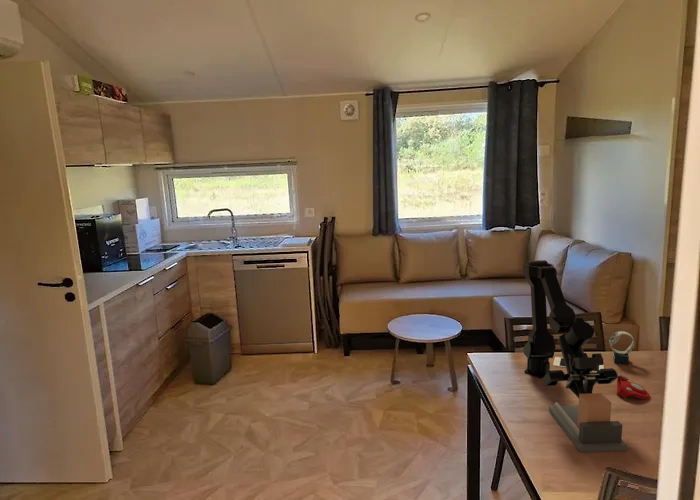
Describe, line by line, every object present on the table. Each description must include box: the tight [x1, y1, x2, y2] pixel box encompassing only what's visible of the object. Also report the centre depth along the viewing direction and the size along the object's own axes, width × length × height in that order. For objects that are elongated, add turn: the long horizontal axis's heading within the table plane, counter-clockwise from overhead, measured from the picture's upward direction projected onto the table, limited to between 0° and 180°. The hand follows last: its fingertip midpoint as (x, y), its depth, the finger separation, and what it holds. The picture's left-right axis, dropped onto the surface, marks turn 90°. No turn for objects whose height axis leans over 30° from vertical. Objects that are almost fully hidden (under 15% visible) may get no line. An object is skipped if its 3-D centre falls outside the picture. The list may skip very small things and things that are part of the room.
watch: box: [608, 330, 636, 366], centre depth 173 cm, size 6×8×11 cm
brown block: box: [577, 392, 612, 428], centre depth 128 cm, size 5×6×10 cm
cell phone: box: [552, 356, 605, 373], centre depth 173 cm, size 8×16×1 cm, turn 62°
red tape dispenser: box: [616, 374, 650, 400], centre depth 153 cm, size 12×4×10 cm
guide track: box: [548, 402, 628, 453], centre depth 133 cm, size 20×12×6 cm, turn 0°
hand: (589, 408), depth 131 cm, fingers closed, pressing on brown block
